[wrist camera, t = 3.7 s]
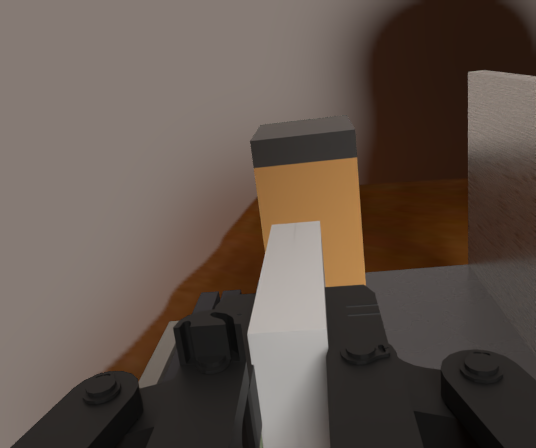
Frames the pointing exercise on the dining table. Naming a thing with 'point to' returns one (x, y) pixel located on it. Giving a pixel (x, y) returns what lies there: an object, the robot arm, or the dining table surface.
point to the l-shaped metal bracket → (479, 244)
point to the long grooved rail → (166, 353)
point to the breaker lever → (313, 188)
